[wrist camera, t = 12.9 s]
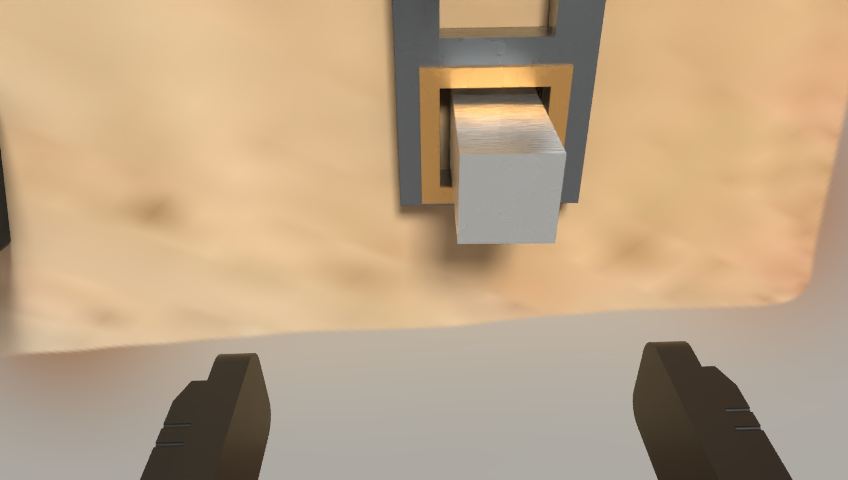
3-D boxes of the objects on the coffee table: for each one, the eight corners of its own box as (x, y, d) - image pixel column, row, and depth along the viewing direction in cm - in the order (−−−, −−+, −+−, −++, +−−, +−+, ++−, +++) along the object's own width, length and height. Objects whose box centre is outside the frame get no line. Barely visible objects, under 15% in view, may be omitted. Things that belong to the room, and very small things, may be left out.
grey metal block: (450, 84, 33) (459, 154, 25) (532, 84, 33) (566, 153, 25) (449, 159, 35) (457, 243, 27) (525, 159, 35) (554, 243, 27)
